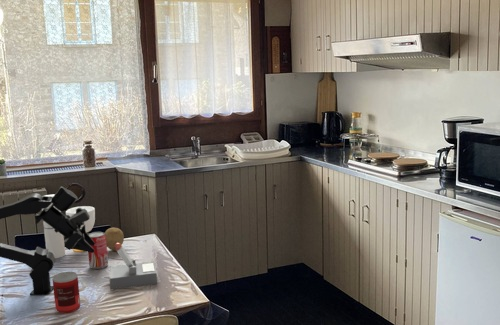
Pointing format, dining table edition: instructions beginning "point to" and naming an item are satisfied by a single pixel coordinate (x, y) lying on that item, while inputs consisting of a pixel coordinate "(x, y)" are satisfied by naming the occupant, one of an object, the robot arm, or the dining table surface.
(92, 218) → the cup
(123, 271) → the switch box
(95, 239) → the soda can
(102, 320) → the dining table surface
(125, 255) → the switch lever
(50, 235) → the cylindrical container
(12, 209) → the robot arm
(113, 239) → the natural sponge
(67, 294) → the canned food
